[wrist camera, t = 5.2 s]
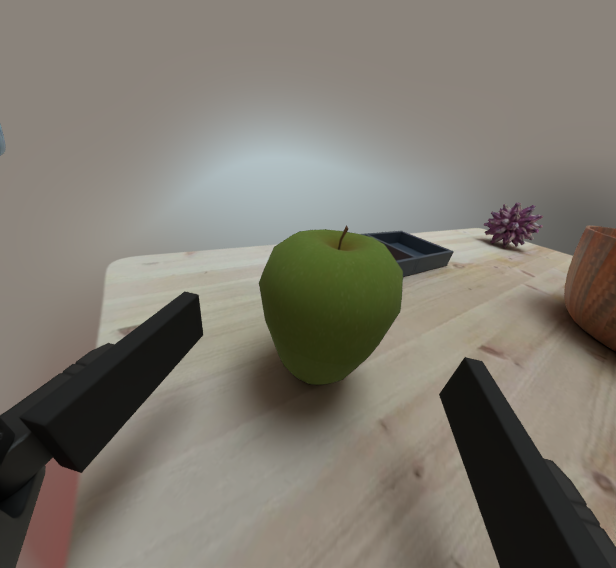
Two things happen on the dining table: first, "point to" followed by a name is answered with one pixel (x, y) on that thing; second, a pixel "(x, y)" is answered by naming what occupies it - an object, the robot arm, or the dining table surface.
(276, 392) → the dining table surface
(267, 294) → the apple
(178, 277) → the dining table surface
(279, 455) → the dining table surface
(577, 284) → the bowl
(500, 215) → the flower
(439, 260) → the tray
